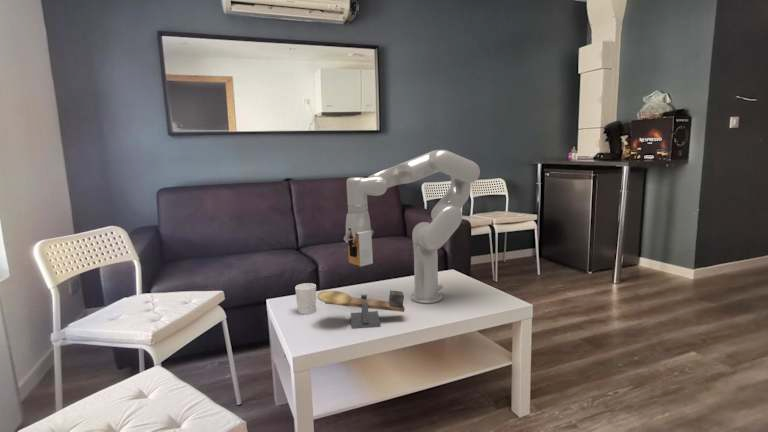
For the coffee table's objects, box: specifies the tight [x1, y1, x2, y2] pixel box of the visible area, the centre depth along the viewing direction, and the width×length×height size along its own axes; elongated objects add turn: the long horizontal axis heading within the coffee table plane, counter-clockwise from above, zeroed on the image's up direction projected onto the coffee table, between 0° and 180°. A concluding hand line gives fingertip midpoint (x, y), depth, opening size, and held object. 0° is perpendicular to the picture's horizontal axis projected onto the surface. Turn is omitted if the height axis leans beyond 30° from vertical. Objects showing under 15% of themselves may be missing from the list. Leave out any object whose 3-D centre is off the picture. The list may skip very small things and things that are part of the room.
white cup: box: [294, 282, 317, 315], centre depth 158 cm, size 8×8×10 cm
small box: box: [347, 231, 374, 267], centre depth 161 cm, size 8×6×13 cm
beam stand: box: [350, 294, 382, 329], centre depth 147 cm, size 10×12×8 cm
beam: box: [316, 290, 405, 313], centre depth 147 cm, size 31×12×6 cm, turn 95°
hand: (360, 254), depth 161 cm, fingers closed on small box, 7 cm apart
